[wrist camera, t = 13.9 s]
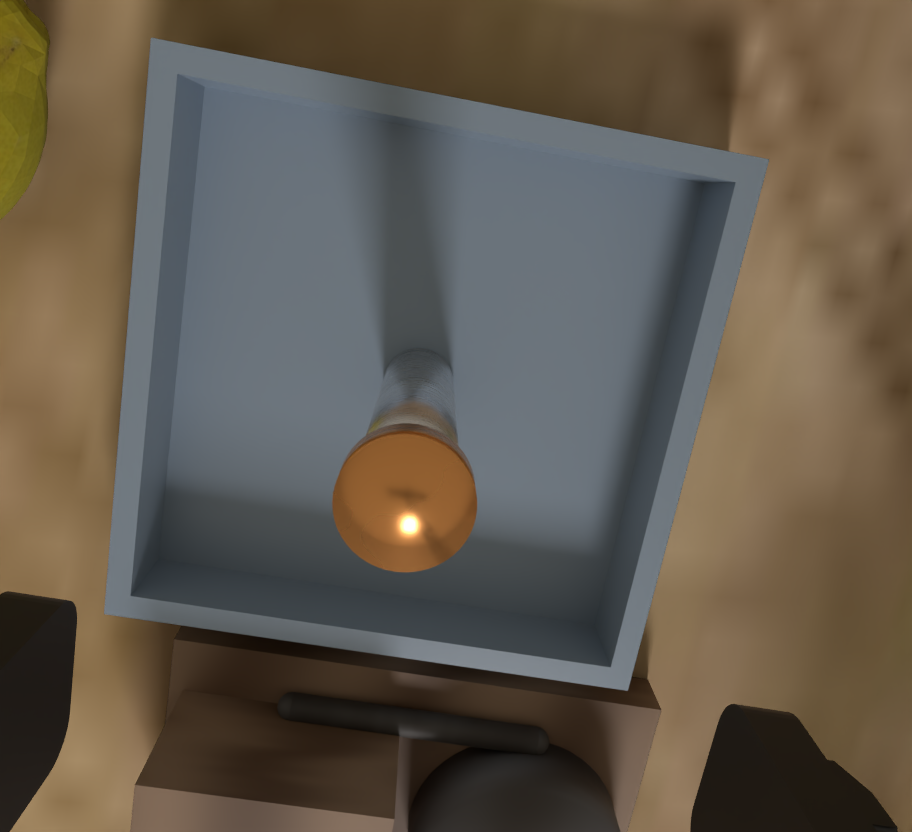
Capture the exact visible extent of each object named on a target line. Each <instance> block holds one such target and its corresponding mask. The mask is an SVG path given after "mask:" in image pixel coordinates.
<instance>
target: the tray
mask: <svg viewBox="0 0 912 832" xmlns="http://www.w3.org/2000/svg"><path fill="white" fill-rule="evenodd" d="M768 162H769V159H764V158H759V157H754V156H749V155H744V154H739V153H734V152H729V151H724V150H719V149H714V148H709V147H703V146H698V145H693V144H688V143H683V142H678V141H673V140H668V139H663V138H658V137H653V136H648V135H643V134H638V133H632V132H627V131H622V130H617V129H612V128H607V127H602V126H597V125H592V124H587V123H582V122H577V121H572V120H566V119H561V118H556V117H551V116H546V115H541V114H536V113H531V112H526V111H521V110H516V109H511V108H506V107H501V106H495V105H490V104H485V103H480V102H475V101H470V100H465V99H460V98H455V97H450V96H445V95H440V94H435V93H429V92H424V91H419V90H414V89H409V88H404V87H399V86H394V85H389V84H384V83H379V82H374V81H369V80H364V79H358V78H353V77H348V76H343V75H338V74H333V73H328V72H323V71H318V70H313V69H308V68H303V67H298V66H293V65H287V64H282V63H277V62H272V61H267V60H262V59H257V58H252V57H247V56H242V55H237V54H232V53H227V52H221V51H216V50H211V49H206V48H201V47H196V46H191V45H186V44H181V43H176V42H171V41H166V40H161V39H156V38H151V44H150V56H149V68H148V80H147V93H146V105H145V117H144V130H143V142H142V154H141V167H140V179H139V191H138V204H137V216H136V228H135V241H134V253H133V265H132V277H131V290H130V302H129V314H128V327H127V339H126V351H125V364H124V376H123V388H122V401H121V413H120V425H119V437H118V450H117V462H116V474H115V487H114V499H113V511H112V524H111V536H110V548H109V561H108V573H107V585H106V598H105V610H104V614H107V615H114V616H121V617H128V618H135V619H141V620H148V621H155V622H162V623H169V624H175V625H182V626H189V627H196V628H203V629H210V630H216V631H223V632H230V633H237V634H244V635H250V636H257V637H264V638H271V639H278V640H285V641H291V642H298V643H305V644H312V645H319V646H325V647H332V648H339V649H346V650H353V651H360V652H366V653H373V654H380V655H387V656H394V657H400V658H407V659H414V660H421V661H428V662H435V663H441V664H448V665H455V666H462V667H469V668H475V669H482V670H489V671H496V672H503V673H510V674H516V675H523V676H530V677H537V678H544V679H550V680H557V681H564V682H571V683H578V684H585V685H591V686H598V687H605V688H612V689H619V690H625V691H628V688H629V684H630V681H631V677H632V673H633V669H634V666H635V662H636V658H637V654H638V651H639V647H640V643H641V639H642V636H643V632H644V628H645V624H646V621H647V617H648V613H649V609H650V606H651V602H652V598H653V594H654V591H655V587H656V583H657V579H658V575H659V572H660V568H661V564H662V560H663V557H664V553H665V549H666V545H667V542H668V538H669V534H670V530H671V527H672V523H673V519H674V515H675V512H676V508H677V504H678V500H679V497H680V493H681V489H682V485H683V482H684V478H685V474H686V470H687V466H688V463H689V459H690V455H691V451H692V448H693V444H694V440H695V436H696V433H697V429H698V425H699V421H700V418H701V414H702V410H703V406H704V403H705V399H706V395H707V391H708V388H709V384H710V380H711V376H712V373H713V369H714V365H715V361H716V358H717V354H718V350H719V346H720V342H721V339H722V335H723V331H724V327H725V324H726V320H727V316H728V312H729V309H730V305H731V301H732V297H733V294H734V290H735V286H736V282H737V279H738V275H739V271H740V267H741V264H742V260H743V256H744V252H745V249H746V245H747V241H748V237H749V233H750V230H751V226H752V222H753V218H754V215H755V211H756V207H757V203H758V200H759V196H760V192H761V188H762V185H763V181H764V177H765V173H766V170H767V166H768ZM414 348H423V349H428V350H431V351H434V352H435V353H437V354H439V355H440V356H441V357H442V358H443V359H444V360H445V361H446V362H447V363H448V365H449V367H450V369H451V371H452V375H453V383H454V395H455V408H456V421H457V434H458V446H459V447H460V448H461V450H462V451H463V452H464V454H465V455H466V457H467V459H468V461H469V463H470V465H471V467H472V471H473V474H474V480H475V487H476V495H477V514H476V520H475V523H474V527H473V529H472V531H471V534H470V535H469V537H468V539H467V540H466V542H465V543H464V545H463V546H462V547H461V548H460V549H459V550H458V551H457V552H456V553H455V554H454V555H453V556H452V557H450V558H449V559H448V560H446V561H444V562H443V563H441V564H439V565H437V566H435V567H432V568H430V569H426V570H422V571H416V572H393V571H389V570H384V569H381V568H379V567H376V566H374V565H372V564H370V563H368V562H366V561H364V560H363V559H361V558H360V557H359V556H357V555H356V554H355V553H354V552H353V551H352V550H351V549H350V548H349V547H348V546H347V544H346V543H345V542H344V540H343V539H342V537H341V535H340V533H339V531H338V529H337V527H336V524H335V521H334V516H333V509H332V499H333V491H334V487H335V483H336V481H337V478H338V475H339V473H340V470H341V467H342V465H343V462H344V460H345V458H346V456H347V455H348V453H349V452H350V450H351V449H352V448H353V447H354V446H355V445H356V443H357V442H358V441H359V440H361V439H362V438H363V437H365V436H366V433H367V430H368V427H369V424H370V421H371V417H372V414H373V411H374V408H375V405H376V401H377V398H378V395H379V392H380V389H381V385H382V382H383V379H384V376H385V373H386V370H387V367H388V366H389V364H390V362H391V361H392V360H393V359H394V358H395V357H396V356H397V355H398V354H400V353H402V352H404V351H406V350H409V349H414Z"/></svg>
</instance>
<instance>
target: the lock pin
mask: <svg viewBox="0 0 912 832" xmlns="http://www.w3.org/2000/svg"><path fill="white" fill-rule="evenodd" d="M332 509H333V516H334V521H335V524H336V527H337V529H338V531H339V533H340V535H341V537H342V539H343V540H344V542H345V543H346V544H347V546H348V547H349V548H350V549H351V550H352V551H353V552H354V553H355V554H356V555H357V556H359V557H360V558H361V559H363V560H364V561H366V562H368V563H370V564H372V565H374V566H376V567H379V568H381V569H384V570H389V571H393V572H416V571H422V570H426V569H430V568H432V567H435V566H437V565H439V564H441V563H443V562H444V561H446V560H448V559H449V558H450V557H452V556H453V555H454V554H455V553H456V552H457V551H458V550H459V549H460V548H461V547H462V546H463V545H464V543H465V542H466V540H467V539H468V537H469V535H470V534H471V531H472V529H473V527H474V523H475V520H476V514H477V495H476V487H475V480H474V474H473V471H472V467H471V465H470V463H469V461H468V459H467V457H466V455H465V454H464V452H463V451H462V450H461V448H460V447H459V446H458V434H457V421H456V408H455V395H454V383H453V375H452V371H451V369H450V367H449V365H448V363H447V362H446V361H445V360H444V359H443V358H442V357H441V356H440V355H439V354H437V353H435V352H434V351H431V350H428V349H423V348H414V349H409V350H406V351H404V352H402V353H400V354H398V355H397V356H396V357H395V358H394V359H393V360H392V361H391V362H390V364H389V366H388V367H387V370H386V373H385V376H384V379H383V382H382V385H381V389H380V392H379V395H378V398H377V401H376V405H375V408H374V411H373V414H372V417H371V421H370V424H369V427H368V430H367V433H366V436H365V437H363V438H362V439H361V440H359V441H358V442H357V443H356V445H355V446H354V447H353V448H352V449H351V450H350V452H349V453H348V455H347V456H346V458H345V460H344V462H343V465H342V467H341V470H340V473H339V475H338V478H337V481H336V483H335V487H334V491H333V499H332Z"/></svg>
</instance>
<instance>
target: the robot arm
mask: <svg viewBox="0 0 912 832" xmlns="http://www.w3.org/2000/svg"><path fill="white" fill-rule="evenodd" d="M76 627H77V611H76V607H75V604H74V603H73V602H72V601H68V600H62V599H55V598H49V597H42V596H35V595H29V594H22V593H16V592H4V593H2V594H1V595H0V832H10V830H11V829H12V827H13V826H14V824H15V823H16V822H17V820H18V819H19V817H20V816H21V814H22V813H23V811H24V810H25V808H26V807H27V805H28V804H29V803H30V801H31V800H32V798H33V797H34V795H35V794H36V792H37V791H38V789H39V788H40V786H41V785H42V783H43V782H44V781H45V779H46V778H47V776H48V775H49V773H50V771H51V770H52V768H53V766H54V764H55V762H56V760H57V758H58V756H59V753H60V751H61V748H62V745H63V742H64V739H65V735H66V731H67V727H68V722H69V715H70V704H71V691H72V678H73V665H74V652H75V640H76ZM690 832H897V826H896V825H895V823H894V822H893V821H892V819H891V818H890V817H889V815H888V814H887V813H886V811H885V810H884V809H883V807H882V806H881V804H880V803H879V802H878V800H877V799H876V798H875V796H874V795H873V794H872V793H871V792H870V791H869V790H868V789H867V788H866V787H864V786H863V785H862V784H861V783H860V782H858V781H857V780H856V779H855V778H854V777H852V776H851V775H850V774H849V773H848V772H847V771H845V770H844V769H843V768H842V767H841V766H839V765H838V764H837V763H836V762H835V761H830V760H827V759H826V758H825V756H824V755H823V753H822V752H821V751H820V749H819V748H818V746H817V745H816V743H815V742H814V741H813V739H812V738H811V736H810V735H809V733H808V732H807V730H806V729H805V728H804V726H803V725H802V723H801V722H800V720H799V719H798V718H797V717H796V716H795V715H794V714H792V713H789V712H783V711H776V710H770V709H763V708H757V707H750V706H744V705H737V704H731V705H729V706H727V707H726V708H725V710H724V711H723V713H722V715H721V717H720V719H719V722H718V725H717V729H716V732H715V735H714V739H713V742H712V746H711V749H710V752H709V756H708V759H707V762H706V766H705V769H704V772H703V776H702V779H701V782H700V786H699V789H698V793H697V796H696V799H695V803H694V806H693V810H692V816H691V831H690Z"/></svg>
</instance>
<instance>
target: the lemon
mask: <svg viewBox="0 0 912 832" xmlns="http://www.w3.org/2000/svg"><path fill="white" fill-rule="evenodd" d="M49 45H50V40H49V34H48V31H47V29H46V27H45V25H44V23H43V22H42V21H41V20H40V19H39V18H38V17H37V16H36V15H35V14H33V13H32V12H31V11H30V9H29V8H28V6H27V5H26V3H25V2H24V1H23V0H0V220H1V219H2V218H3V217H4V216H5V215H6V214H7V213H8V212H9V211H10V210H11V209H12V208H13V207H14V206H15V204H16V203H17V202H18V200H19V199H20V198H21V196H22V195H23V194H24V192H25V191H26V189H27V187H28V186H29V184H30V182H31V180H32V178H33V176H34V174H35V171H36V169H37V167H38V164H39V162H40V159H41V155H42V152H43V148H44V144H45V141H46V134H47V119H48V102H47V92H46V71H47V64H48V49H49Z"/></svg>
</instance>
